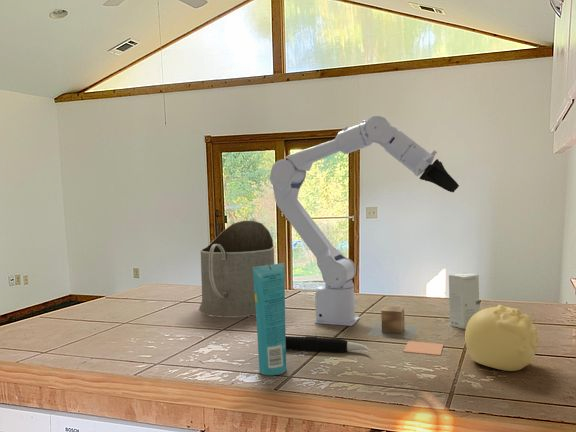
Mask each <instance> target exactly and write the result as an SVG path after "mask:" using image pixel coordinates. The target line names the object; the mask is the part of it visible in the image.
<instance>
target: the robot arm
mask: <svg viewBox="0 0 576 432" xmlns="http://www.w3.org/2000/svg"><path fill="white" fill-rule="evenodd" d="M341 129H342V130H341V131H338V133H337V134H336V136H335V138H334V139H332V140H328V141H326V142H323V143H319V144H316V145H314V146H311V147H309V148H306V149H302V150H299V151H296V152H294V153H291V154H289V155H287V156H285V157H284V159H278V160H277V161H275V162H274V163H273V164H272V166H271V169H270V175H269V180H270V182H271V184H272V189H273V195H274V200H275V204H276V205H277V207H278V209H279V210H280V211H281V213H282V214H283V215H284V217H285V218H286V219H287V221H288V222H289V223H290V225H291V226H292V227H293V228H294V230H295V231H296V233H297V234H298V235H299V237H300V238H301V239H302V240H303V242H304V243H305V245H306V246H307V247H308V249H309V250H310V252H311V253H312V255H314V257H315V258H316V264H317V267H318V270H320V272H321V273H320V274H321V277H322V280H323V282H324V285H318V286H317V288H316V291H315V321H314V323H315V324H321V325H333V326H335V325H337V326H349V327H351V326H352V327H353V325H354V324H356V323H357V321H358V320H360V316H356V313H355V312H356V311H355V310H356V309H355V308H356V306H355V283H354V282H353V278H355V275H356V272H357V268H356V265H355V263H354V261H353V260H352V259H351V258H348V257H346V256H345V255H344V254H343V253H342V252H341V251H340V250H339V249H338V248H336V247H334V245H333V244H332V243H331V242H330V240H329V239H328V237H326V235H325V233H324V232H323V231H322V230H321V228H320V227H319V226H318V224H317V223H316V222H315V220H314V219H313V218H312V217H311V215H310V214H309V213H308V212H307V210H306V208H304V206H303V205H302V204H301V202H300V200H299V199H298V197H299V193H300V189H301V187H302V185H303V183H304V181H305V179H306V177H307V172H310V170H311V168H312V167H313V164H314V163H315V162H318V161H320V160H323V159H325V158H328V157H329V156H332V155H334V154H337V153H339V152H341V153H343V154H344V155H348V154H350V153H353V152H356V151H358V150H361V149H364V148H367V147H369V146H371V145H372V144H373V143H376V144H378V145H380V146H381V147H382V148H383V149H384V150H385V152H386V153H388V154H389V155H390V156H392V157H393V158H394V159H396V160H397V161H398V162H399V163H400V164H402V165H403V166H404V167H405V168H407V169H408V170H409V171H411V172H412V173H413V174H414V175H415V176H416V177H418V176H419V179H420V180H421V181H425V182H428V183H429V182H430V183H432V184H434V185H436V186H438V187H439V188H441V189H443V190H445V191H447V192H450V193H455V191H456V190H457V189H458V188H459V187H460V185H459V184H458V183H457V181H456V180H455V179H454V178H453V177H452V176H451V175H450V174H449V172H448V171H447V170H446V169H445V167H444V164H443V162H442V161H439V159H438V158H436V159H435V161H434V158H435V156H436V154H437V153H438V151H436V150H433V151H432V152H431V153H430V152H429V151H428V150H426V149H425V148H424V147H422V146H421V145H420V144H419V143H417V142H416V141H415V140H413V139H412V138H410V136H408V135H407V134H405V132H403V131H401V130H399V129H398V128H397V127H395V126H393V125H392V124H391V123H390V121H388V120H387V118H386V117H383V116H380V115H374V116H371V117H370V118H368V119H367V120H366V119H364V120H361V123H359V124H356V125H354V126H351V127H349V126H344V127H342V128H341Z"/></svg>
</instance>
